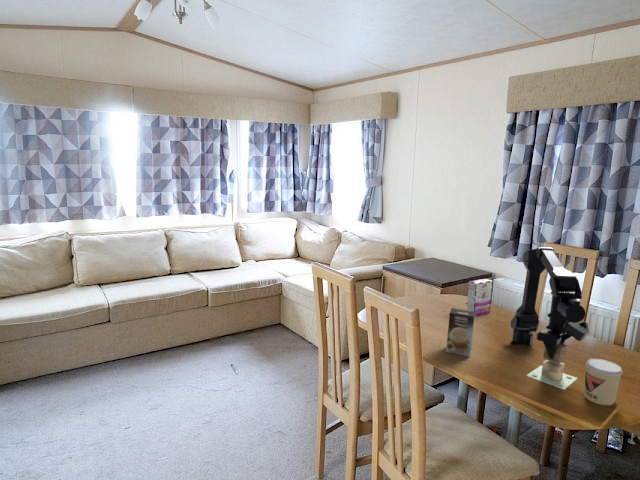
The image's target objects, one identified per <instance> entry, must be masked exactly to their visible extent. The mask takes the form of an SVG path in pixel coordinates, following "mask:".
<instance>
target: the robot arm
mask: <svg viewBox="0 0 640 480" xmlns="http://www.w3.org/2000/svg"><path fill="white" fill-rule="evenodd" d="M522 261H523V265H524V267H525V270H526V273H525V274H526V275H525V283H524V288H523V294H522V302H521V305H520V306H519V307H518V308H517V309H516V311H515V315H514V316H513V317H512V319H511V320H510V328H511V329H512V330H513V331H512V339H511V341H510V344H512V345H516V346H517V345H518V344H519V345H524V346H527V347H530V346H532V345H533V341H534V334H533V333H537V334H536V337H535V339H536V340H537V341H540V342H542V343H543V345H544V349H545V348H546V350H547V353H548V355H549V358H552V359H553V358H554V355H555V352H556V349H557V346H558V345H559V344H564V345H565V344H566V341H567V340H568V339H570V338H571V337H572V338H574V339H575V340H577V341H578V342H581V341H582V340H584V339H585V338H586V336H587V335H588V334H589V332H590V331H589V330H590V329H589V323H588V322H586V321H583V320H584V319H585V317H586V315H587V313H586V310H585V308H584V307H583V306H582V305H581V302H580V300H582V294H583V292H582V288H581V286H580V282H579V279H578V278H577V276H576V275H575V274H574V273H573V272H572V271H570V270H568V269H566V268H564V266H563V264H562V263H561V261H560V259H559V258H558V257H557V255H556V253H555V249H554V248H553V247H550V246H546V247H545V246H539V247H537V248H532V249H527V250H526V251H525V252H523V256H522ZM545 270H546V271H547V273H548V275H549V281H548V283H549V288H550V290H551V292H550V294H551V304H550V312H548V313H547V317H548V318H549V319H548V324H546V326H545V329H543V330H541V331H539V332H537V330H538V327H539V324H540V320H539V319H540V318H539V317H540V316H539V314H538V313H537V311H536V303H537V297H538V291H539V286H540V285H539V284H540V278H541V274H542V273H543V272H544V271H545Z"/></svg>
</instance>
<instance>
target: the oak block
mask: <svg viewBox="0 0 640 480" xmlns="http://www.w3.org/2000/svg"><path fill="white" fill-rule="evenodd" d="M541 366H542V374H541V376H542V377H545V378H547V379H550V380H553V381H555V382H557V381H559V380H560V379H561V378H562V377H563V373H564V371H565V370H564V369H565V363H564V362H561V363H556V362H553V361H550V360H547V359H545V360H544V361H542V365H541Z"/></svg>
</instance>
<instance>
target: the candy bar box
mask: <svg viewBox="0 0 640 480" xmlns="http://www.w3.org/2000/svg"><path fill="white" fill-rule="evenodd" d="M467 290H468V291H467V304H466V306H467V307H466V310H467V311H472V312H475V317H477V316H482V315H487V314H490V313H491V305H492V304H491V303H492V295H493V294H492V293H493V280H492V279H488V278H482V279H481V278H480V279H475V280H469V281H468V289H467Z"/></svg>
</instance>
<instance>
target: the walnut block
mask: <svg viewBox="0 0 640 480" xmlns="http://www.w3.org/2000/svg"><path fill="white" fill-rule="evenodd" d="M567 348H568V344H565V343H564V344H559V345H558V346H557V349H556V352H555V355H554V358H553V359H552V358H549V355H548V353H547V350H546V348H545V347H544V352H543V359H545V360H550V361H553V362H556V363H563V362H564V361H565V360H566V355H567Z"/></svg>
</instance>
